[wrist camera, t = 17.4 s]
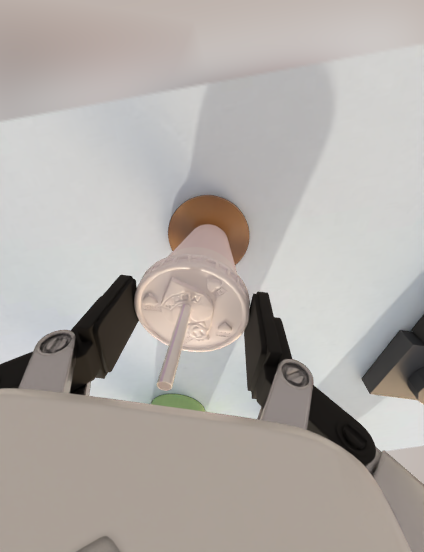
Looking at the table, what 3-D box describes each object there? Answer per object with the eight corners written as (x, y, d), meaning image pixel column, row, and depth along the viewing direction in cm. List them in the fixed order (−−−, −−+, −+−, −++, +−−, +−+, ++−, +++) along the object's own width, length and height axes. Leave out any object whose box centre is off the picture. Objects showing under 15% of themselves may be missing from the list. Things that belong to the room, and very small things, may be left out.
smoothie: (232, 198, 17) (230, 313, 5) (250, 264, 20) (276, 430, 8) (162, 221, 19) (43, 351, 7) (189, 279, 22) (138, 439, 10)
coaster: (168, 190, 19) (167, 191, 19) (256, 200, 19) (256, 201, 19) (169, 266, 23) (168, 268, 23) (241, 275, 23) (241, 277, 23)
